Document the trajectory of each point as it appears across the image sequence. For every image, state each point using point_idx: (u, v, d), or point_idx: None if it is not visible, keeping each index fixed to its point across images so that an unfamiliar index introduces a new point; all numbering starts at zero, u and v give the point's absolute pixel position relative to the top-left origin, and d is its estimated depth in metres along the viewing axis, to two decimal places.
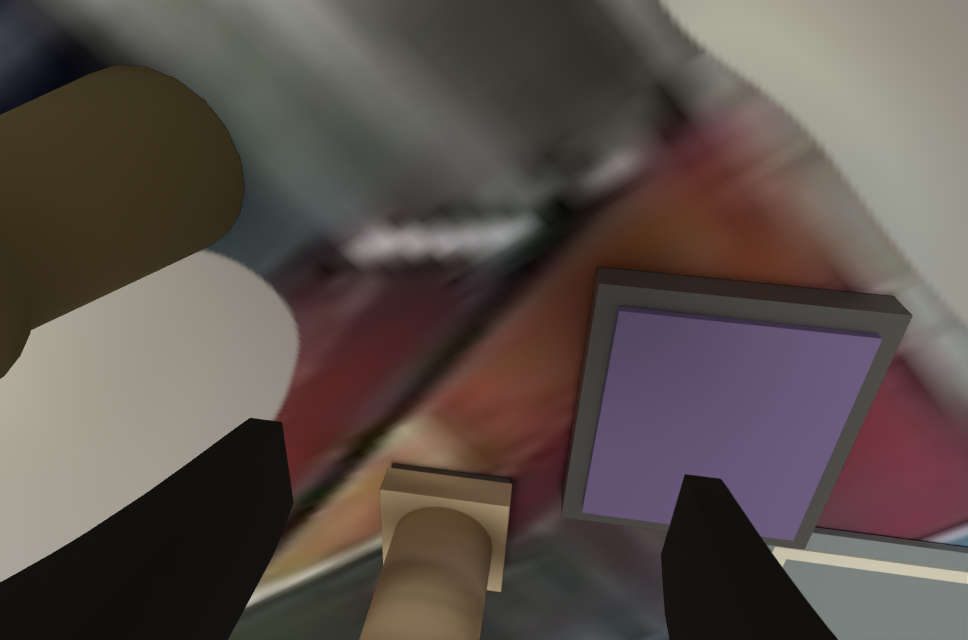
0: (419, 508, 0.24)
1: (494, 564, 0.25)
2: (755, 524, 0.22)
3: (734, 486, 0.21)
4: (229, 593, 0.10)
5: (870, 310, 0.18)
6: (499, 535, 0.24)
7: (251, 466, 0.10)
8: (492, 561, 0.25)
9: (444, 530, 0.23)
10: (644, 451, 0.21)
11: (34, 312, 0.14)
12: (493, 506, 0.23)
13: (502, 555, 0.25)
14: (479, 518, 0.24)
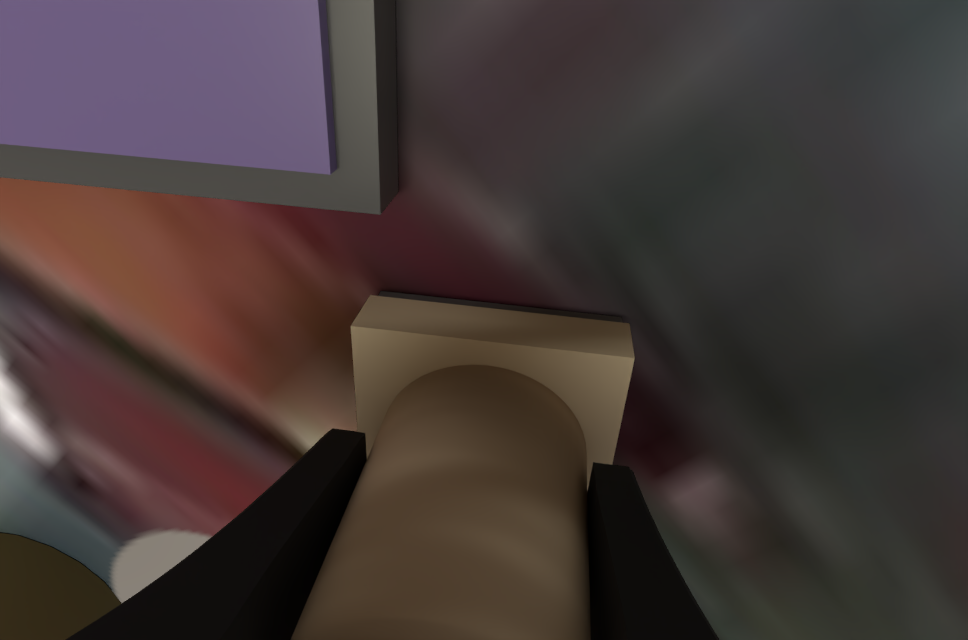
0: None
1: (536, 364, 0.11)
2: None
3: None
4: None
5: None
6: (440, 349, 0.11)
7: (342, 478, 0.10)
8: (526, 368, 0.11)
9: None
10: (106, 41, 0.09)
11: None
12: (360, 353, 0.11)
13: (504, 347, 0.11)
14: (396, 382, 0.11)
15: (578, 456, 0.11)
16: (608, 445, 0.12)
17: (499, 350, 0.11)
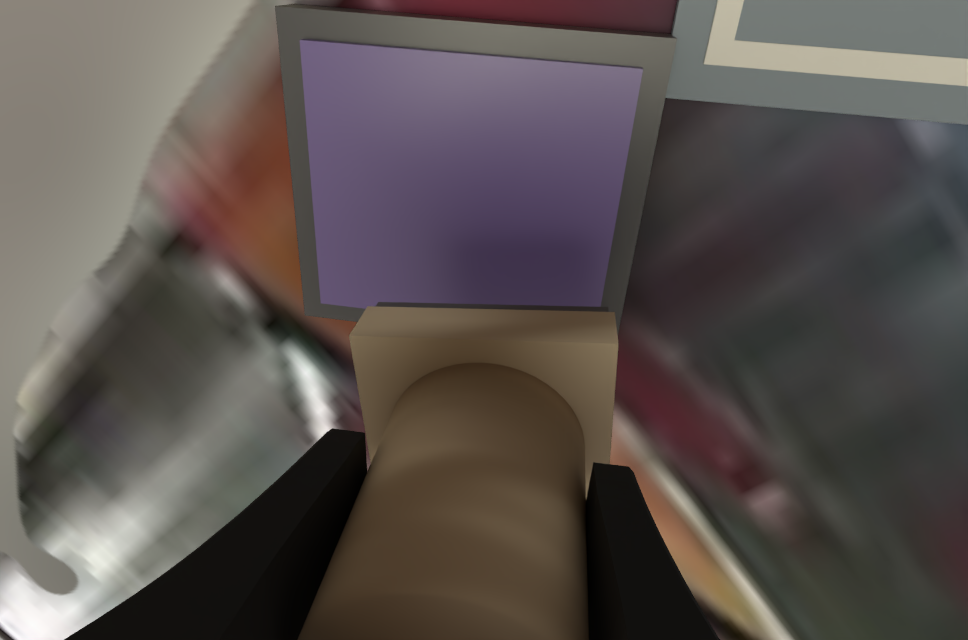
0: None
1: (525, 358, 0.11)
2: (610, 128, 0.16)
3: (539, 167, 0.16)
4: None
5: (281, 54, 0.16)
6: (434, 351, 0.12)
7: (342, 479, 0.10)
8: (517, 362, 0.11)
9: None
10: (491, 273, 0.18)
11: None
12: (360, 361, 0.12)
13: (493, 343, 0.11)
14: (397, 385, 0.12)
15: (572, 442, 0.11)
16: (604, 431, 0.12)
17: (489, 347, 0.11)
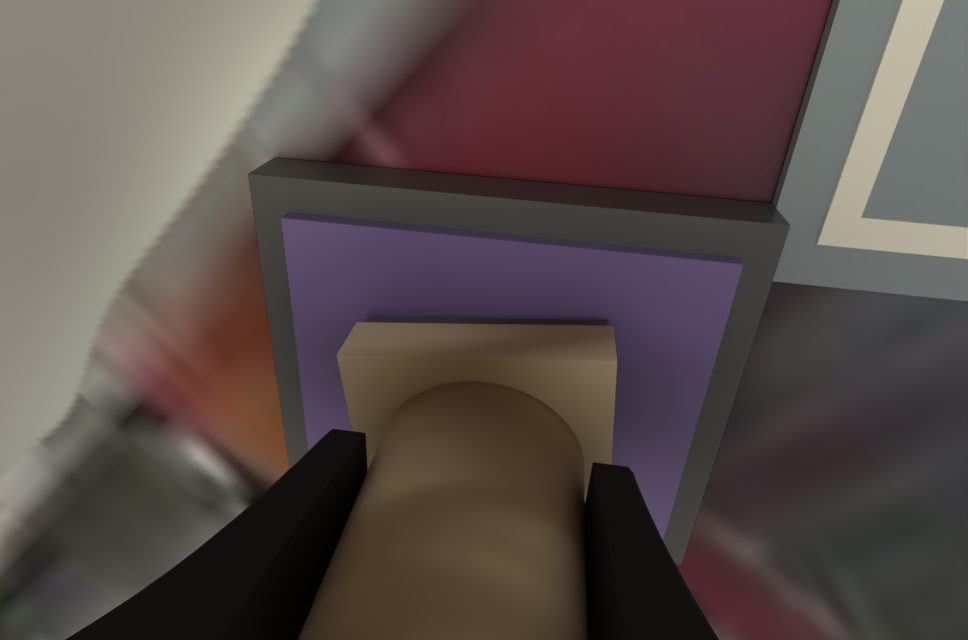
0: None
1: (520, 376, 0.11)
2: (693, 330, 0.12)
3: None
4: None
5: (257, 228, 0.12)
6: (425, 369, 0.11)
7: (343, 478, 0.10)
8: (512, 380, 0.11)
9: None
10: None
11: None
12: (349, 381, 0.11)
13: (486, 361, 0.11)
14: (387, 405, 0.12)
15: (570, 464, 0.10)
16: (604, 450, 0.11)
17: (482, 365, 0.11)
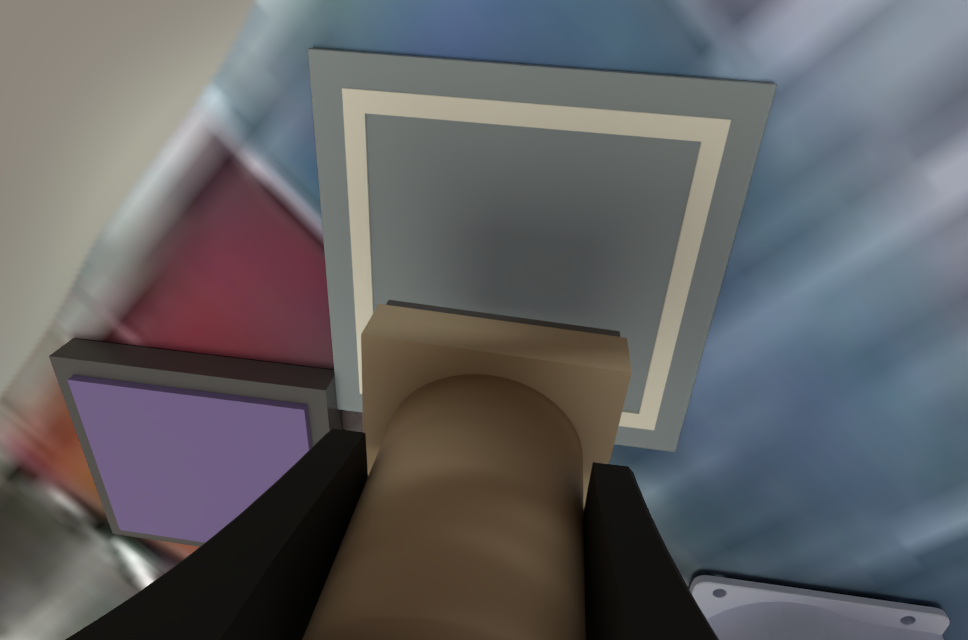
0: None
1: (537, 376, 0.11)
2: (293, 440, 0.22)
3: (251, 459, 0.22)
4: None
5: (60, 381, 0.22)
6: (446, 358, 0.11)
7: (343, 479, 0.10)
8: (528, 378, 0.11)
9: None
10: None
11: None
12: (368, 361, 0.12)
13: (507, 358, 0.11)
14: (403, 388, 0.12)
15: (576, 464, 0.11)
16: (603, 453, 0.12)
17: (503, 361, 0.11)
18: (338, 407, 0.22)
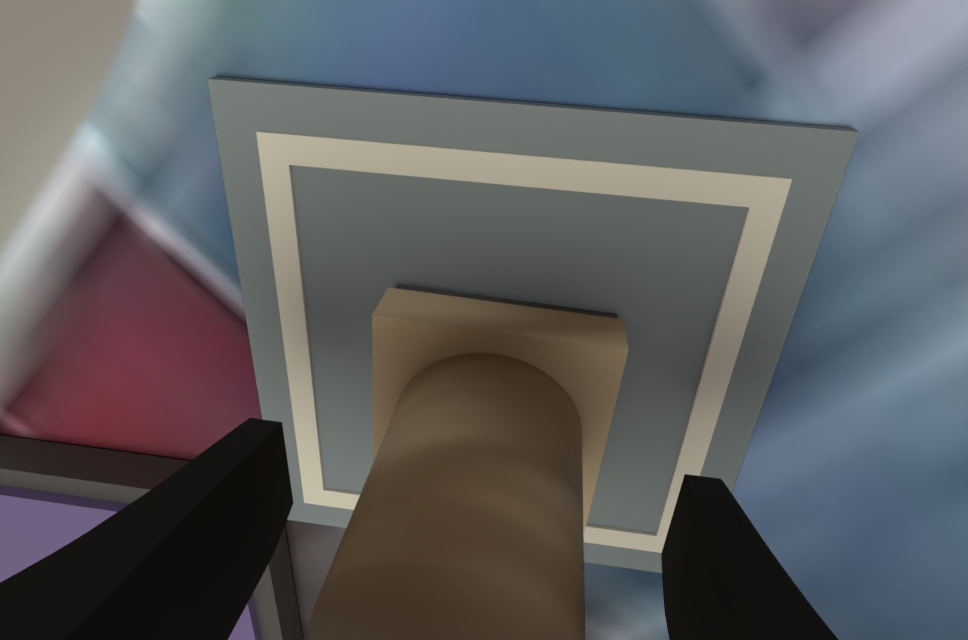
0: None
1: (539, 354, 0.12)
2: None
3: None
4: (229, 593, 0.10)
5: None
6: (452, 337, 0.12)
7: (251, 467, 0.10)
8: (530, 357, 0.12)
9: None
10: None
11: None
12: (379, 340, 0.12)
13: (511, 337, 0.12)
14: (411, 367, 0.13)
15: (575, 437, 0.12)
16: (602, 429, 0.13)
17: (506, 340, 0.12)
18: None
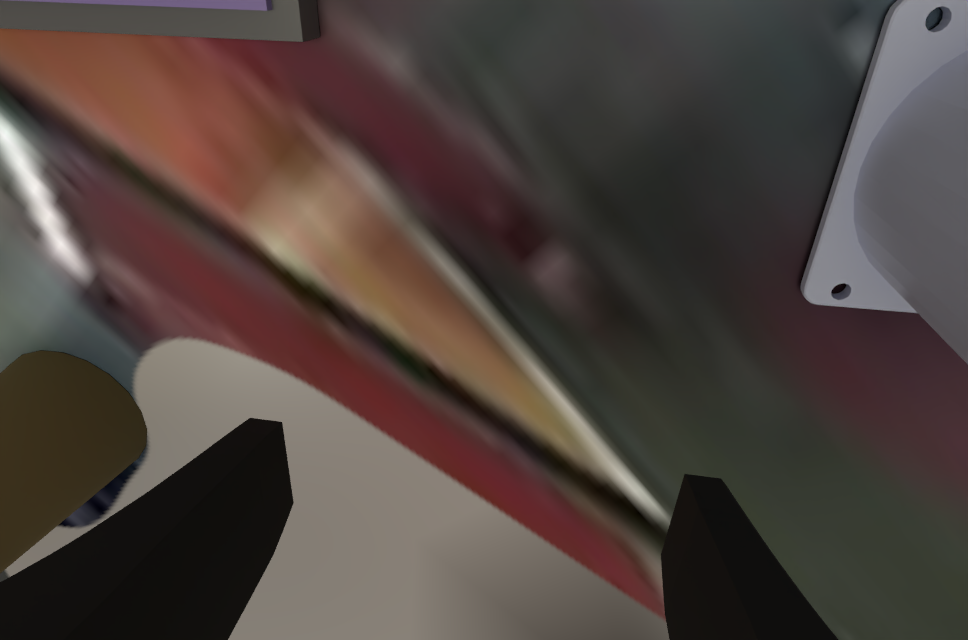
0: None
1: None
2: None
3: None
4: (229, 592, 0.10)
5: None
6: None
7: (251, 467, 0.10)
8: None
9: None
10: None
11: None
12: None
13: None
14: None
15: None
16: None
17: None
18: None
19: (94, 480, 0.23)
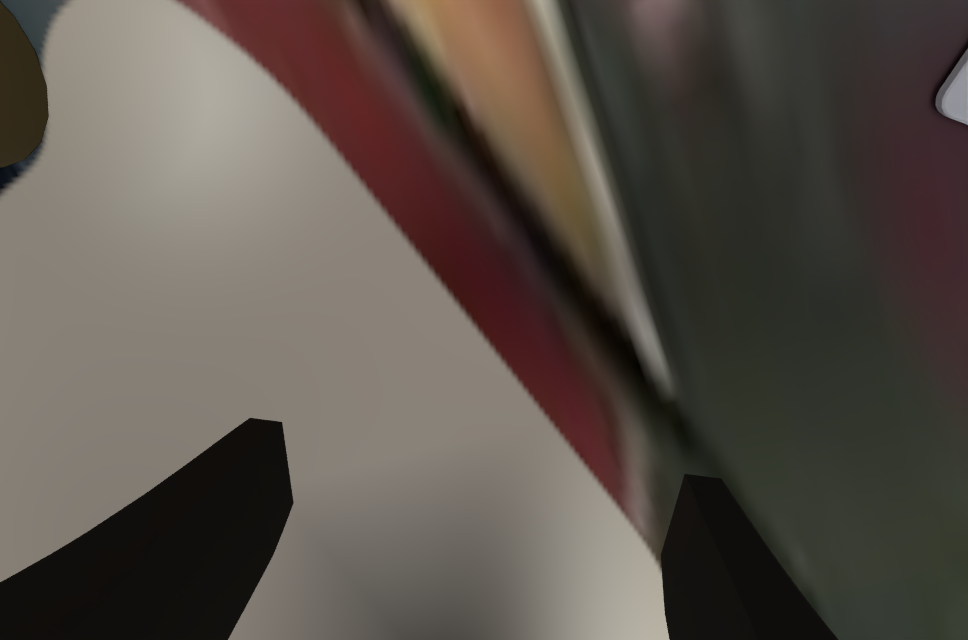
0: None
1: None
2: None
3: None
4: (229, 593, 0.10)
5: None
6: None
7: (251, 467, 0.10)
8: None
9: None
10: None
11: None
12: None
13: None
14: None
15: None
16: None
17: None
18: None
19: None
